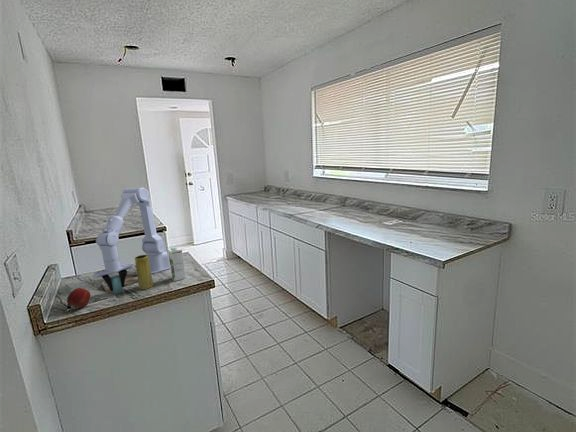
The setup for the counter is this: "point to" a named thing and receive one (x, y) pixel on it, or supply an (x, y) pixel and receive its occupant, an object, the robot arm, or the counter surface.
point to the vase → (143, 272)
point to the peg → (116, 284)
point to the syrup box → (176, 263)
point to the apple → (79, 298)
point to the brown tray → (129, 279)
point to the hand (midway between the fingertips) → (117, 288)
